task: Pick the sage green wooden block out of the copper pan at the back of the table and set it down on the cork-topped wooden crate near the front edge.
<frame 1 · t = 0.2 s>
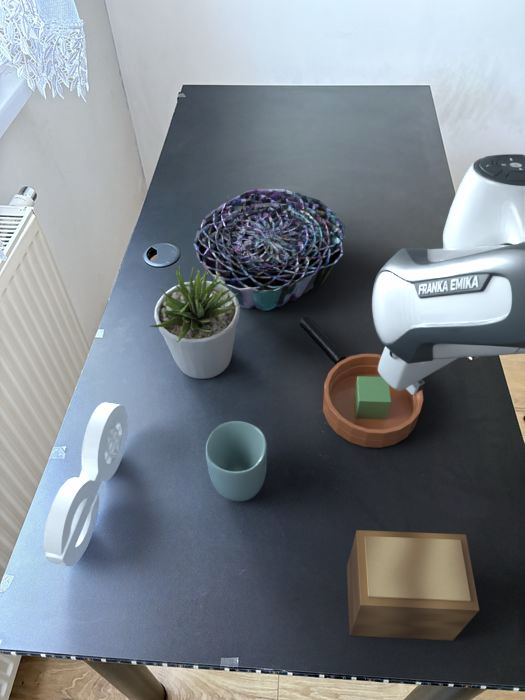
hand: (441, 372, 75), 16 cm above the table, tool pointing down, fingers open, 8 cm apart
pan: (369, 408, 90), on the table
potted plant: (201, 361, 97), on the table
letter: (99, 497, 82), on the table
block: (370, 406, 90), point 1 cm above the table, touching pan
crate: (416, 567, 63), on the table
cup: (239, 483, 83), on the table
pan handle: (322, 340, 95), point 3 cm above the table
decorative bowl: (270, 271, 110), on the table
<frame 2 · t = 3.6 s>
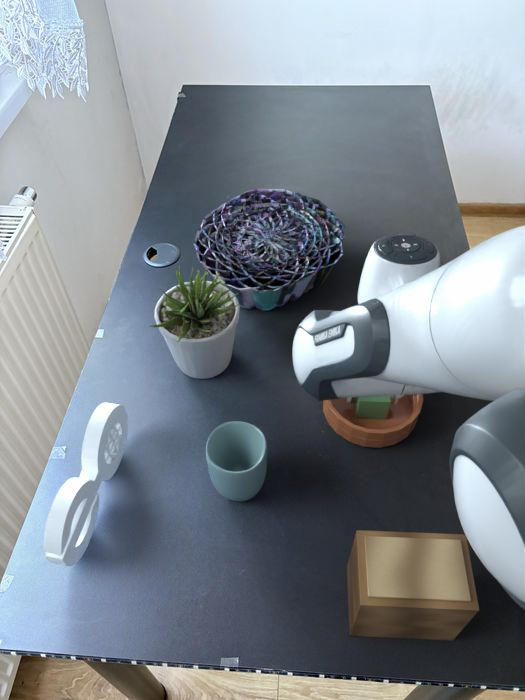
hand: (371, 400, 89), 2 cm above the table, tool pointing down, fingers closed on block, 4 cm apart
block: (369, 406, 90), point 1 cm above the table, touching gripper, pan
everything else where it was.
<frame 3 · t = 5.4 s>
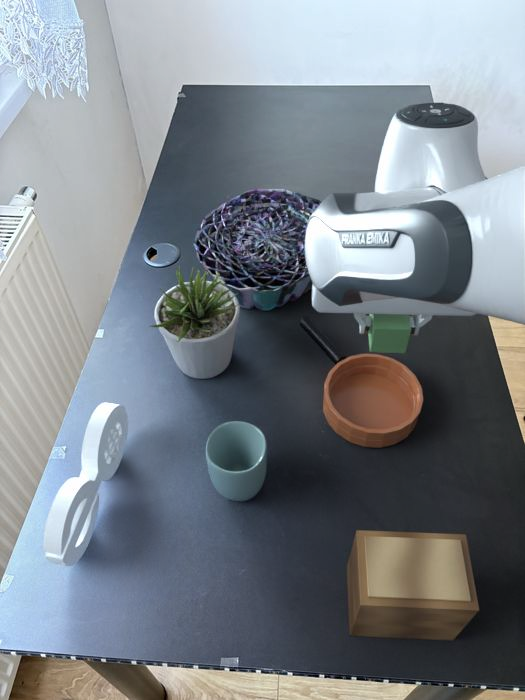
hand: (388, 330, 77), 18 cm above the table, tool pointing down, fingers closed on block, 4 cm apart
block: (386, 339, 78), point 16 cm above the table, touching gripper
everything else where it was.
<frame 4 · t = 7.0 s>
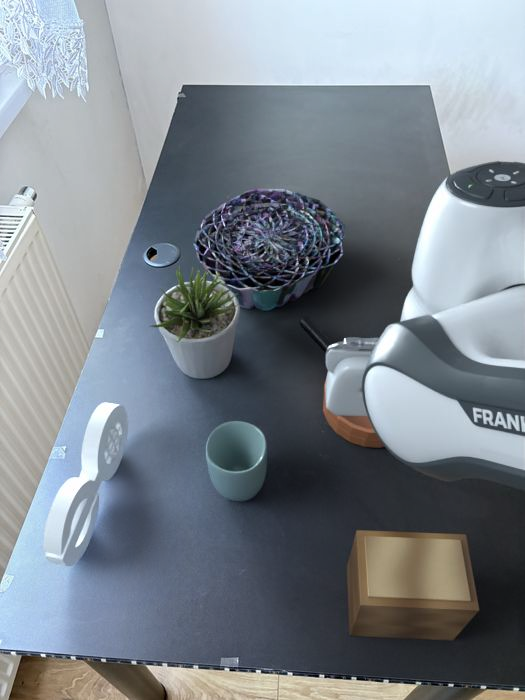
hand: (421, 431, 61), 23 cm above the table, tool pointing down, fingers closed on block, 4 cm apart
block: (418, 439, 62), point 21 cm above the table, touching gripper
everything else where it was.
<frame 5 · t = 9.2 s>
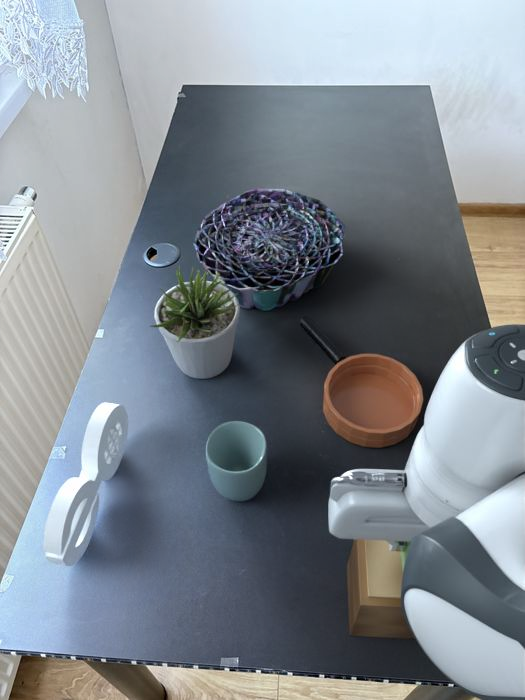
hand: (426, 545, 59), 18 cm above the table, tool pointing down, fingers closed on block, 4 cm apart
block: (422, 551, 60), point 16 cm above the table, touching gripper
everything else where it was.
when the fingers open (13 cm above the table, at t = 10.7 s): block stays where it is, resting on crate.
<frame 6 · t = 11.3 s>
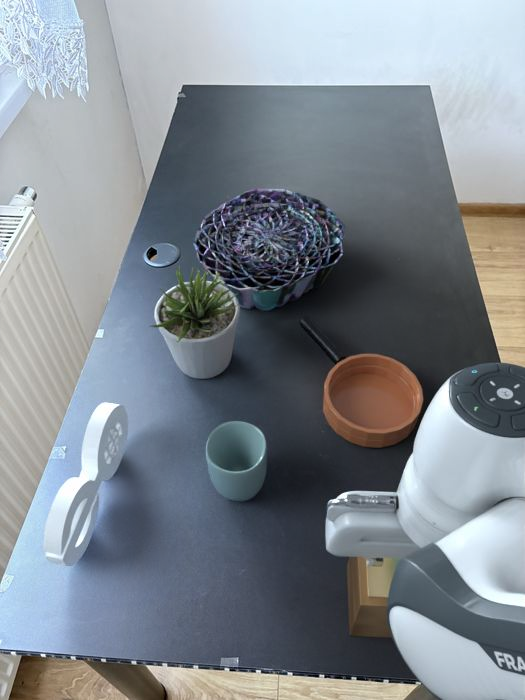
hand: (419, 561, 62), 14 cm above the table, tool pointing down, fingers open, 8 cm apart
block: (415, 566, 63), point 12 cm above the table, touching crate
everything else where it was.
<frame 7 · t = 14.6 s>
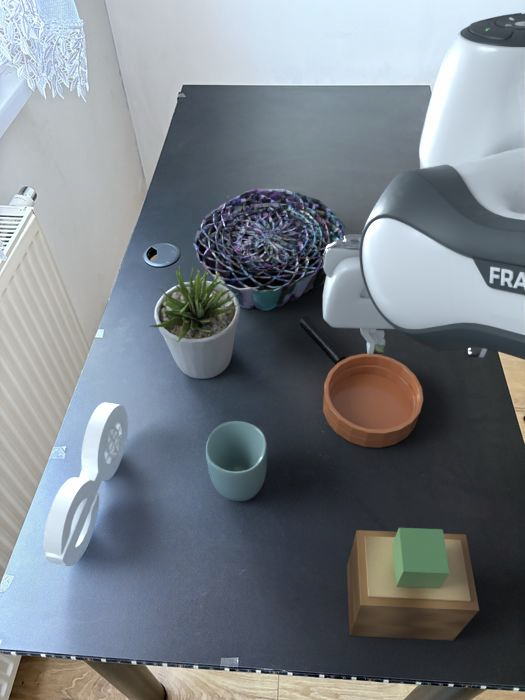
hand: (423, 350, 57), 31 cm above the table, tool pointing down, fingers open, 8 cm apart
nothing on the table moved.
at the end: block 0.1 cm off-centre on the crate, point 0.0 cm above the crate's base; block touching crate; block tilted 0° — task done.
